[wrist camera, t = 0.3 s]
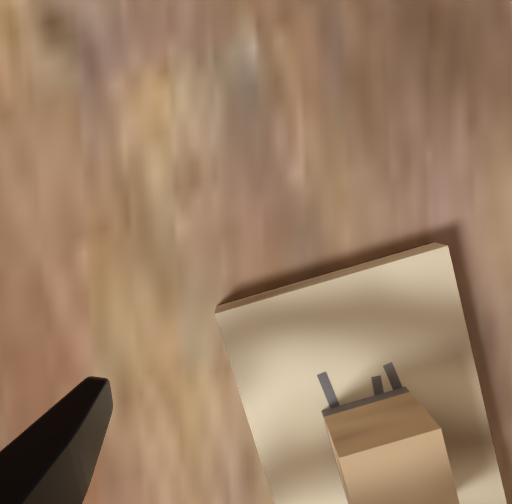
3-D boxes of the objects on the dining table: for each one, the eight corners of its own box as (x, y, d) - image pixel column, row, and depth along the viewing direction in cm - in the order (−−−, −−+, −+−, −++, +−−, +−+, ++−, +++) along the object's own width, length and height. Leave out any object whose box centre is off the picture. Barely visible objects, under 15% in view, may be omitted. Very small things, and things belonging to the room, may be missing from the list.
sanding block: (435, 504, 23) (475, 568, 19) (355, 528, 23) (378, 597, 19) (405, 386, 22) (440, 428, 18) (321, 411, 22) (338, 458, 18)
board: (509, 564, 26) (526, 587, 24) (314, 620, 26) (319, 647, 24) (434, 242, 23) (448, 245, 21) (216, 306, 23) (214, 313, 21)
